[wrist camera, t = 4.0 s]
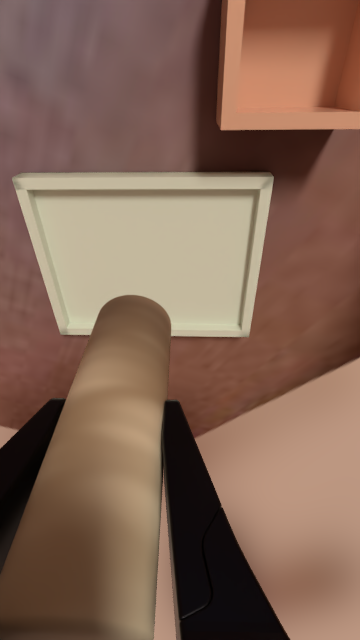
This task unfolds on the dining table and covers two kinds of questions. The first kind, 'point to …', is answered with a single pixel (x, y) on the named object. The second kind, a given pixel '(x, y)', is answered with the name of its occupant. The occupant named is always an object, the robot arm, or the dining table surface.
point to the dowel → (97, 493)
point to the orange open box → (289, 65)
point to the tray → (150, 244)
